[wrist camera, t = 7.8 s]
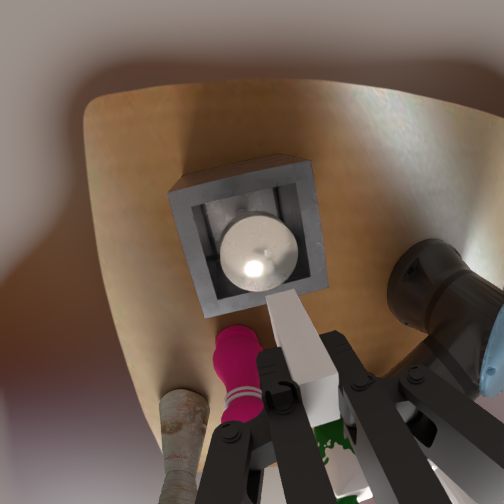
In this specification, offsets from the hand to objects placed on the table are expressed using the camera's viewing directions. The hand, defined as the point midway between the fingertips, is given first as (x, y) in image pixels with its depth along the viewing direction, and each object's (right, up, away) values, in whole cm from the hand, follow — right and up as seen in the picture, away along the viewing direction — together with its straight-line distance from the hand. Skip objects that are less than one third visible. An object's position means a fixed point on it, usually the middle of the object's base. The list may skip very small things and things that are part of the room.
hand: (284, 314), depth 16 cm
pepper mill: (-4, -10, +30) cm, 32 cm away
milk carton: (+15, -34, +41) cm, 55 cm away
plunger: (-3, +8, +22) cm, 23 cm away
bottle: (-13, -23, +33) cm, 42 cm away
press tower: (-3, +8, +23) cm, 25 cm away
